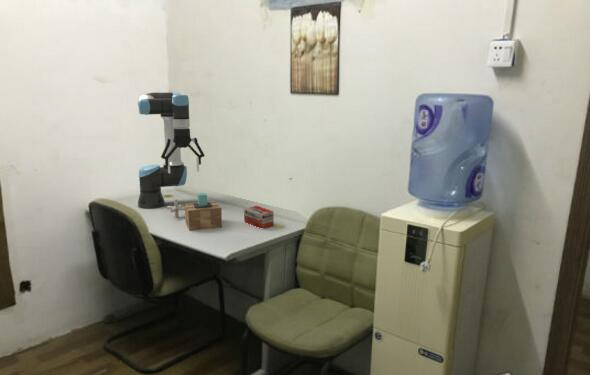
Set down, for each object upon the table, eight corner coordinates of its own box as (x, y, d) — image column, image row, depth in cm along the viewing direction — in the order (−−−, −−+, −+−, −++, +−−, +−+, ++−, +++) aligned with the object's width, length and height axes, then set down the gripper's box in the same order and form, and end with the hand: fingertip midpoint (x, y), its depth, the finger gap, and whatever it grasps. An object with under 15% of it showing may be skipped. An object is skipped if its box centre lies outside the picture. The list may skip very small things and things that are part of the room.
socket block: (185, 222, 234) (184, 203, 231) (216, 219, 239) (215, 201, 237) (189, 230, 221) (188, 210, 219) (221, 227, 226) (221, 208, 224)
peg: (198, 209, 229) (197, 193, 227) (206, 208, 231) (205, 193, 229) (199, 211, 226) (198, 195, 224) (207, 210, 227) (206, 194, 225)
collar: (193, 204, 230) (193, 203, 230) (209, 203, 233) (209, 201, 233) (195, 208, 223) (195, 207, 222) (212, 207, 225) (212, 205, 225)
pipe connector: (181, 220, 237) (180, 202, 235) (163, 219, 239) (162, 201, 236) (189, 215, 246) (188, 197, 244) (172, 214, 248) (171, 196, 246)
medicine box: (243, 222, 235) (243, 207, 233) (256, 219, 240) (256, 205, 239) (261, 229, 224) (261, 214, 222) (274, 226, 229) (274, 211, 227)
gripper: (154, 129, 207) (157, 175, 212) (209, 128, 216) (210, 171, 221) (153, 128, 214) (156, 172, 219) (206, 126, 223) (208, 169, 227)
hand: (183, 172), depth 220 cm, fingers open, 13 cm apart
